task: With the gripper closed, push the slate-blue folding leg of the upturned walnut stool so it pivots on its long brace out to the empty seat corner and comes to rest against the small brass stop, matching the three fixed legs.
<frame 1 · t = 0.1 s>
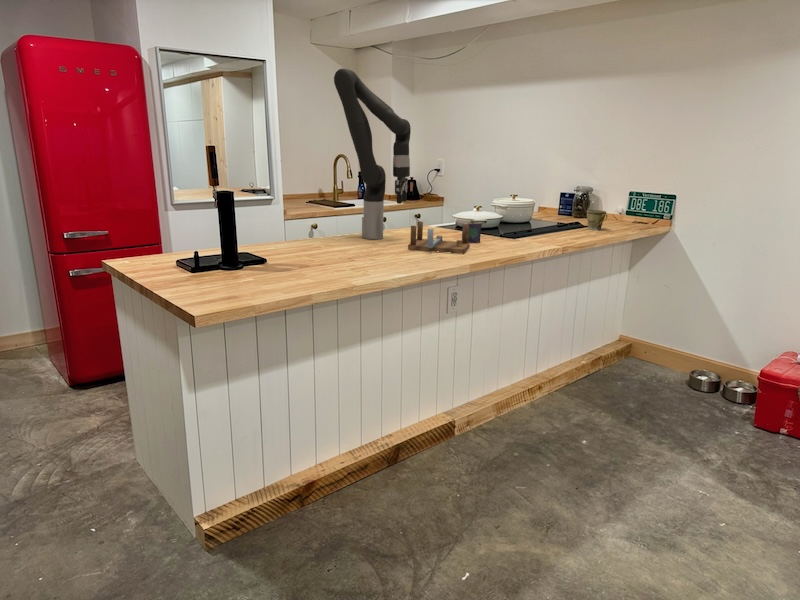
hand: (401, 202, 255), 17 cm above the table, tool pointing down, fingers open, 8 cm apart
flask: (470, 243, 258), on the table
ceramic cup: (596, 230, 301), on the table
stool: (439, 248, 243), on the table
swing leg: (435, 235, 238), point 6 cm above the table, hinge at 0.0°
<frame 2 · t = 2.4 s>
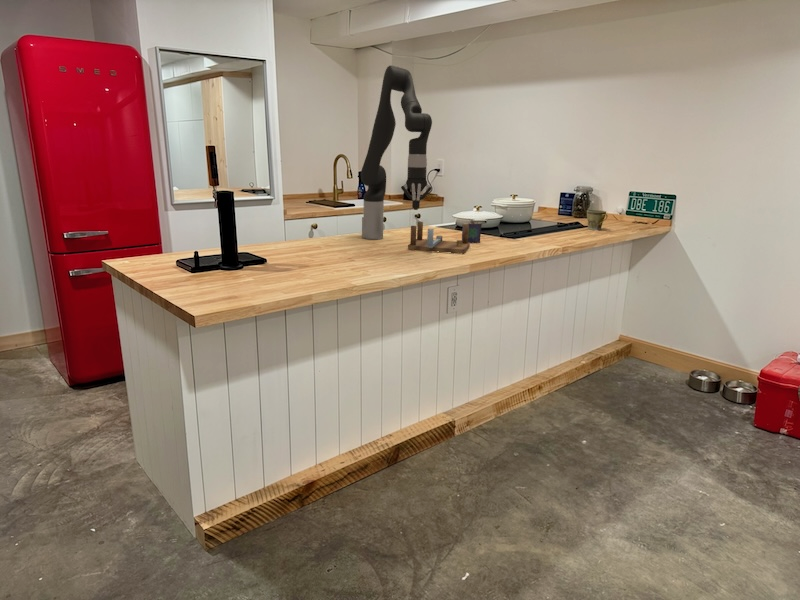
hand: (415, 209, 228), 18 cm above the table, tool pointing down, fingers closed
nothing on the table moved.
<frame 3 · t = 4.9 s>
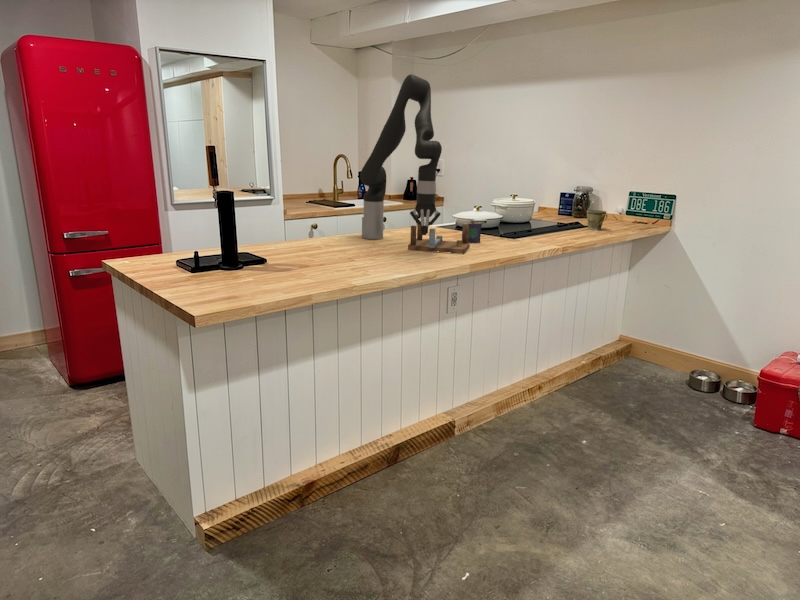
hand: (424, 234, 231), 8 cm above the table, tool pointing down, fingers closed
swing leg: (436, 235, 238), point 6 cm above the table, hinge at 2.7°, touching gripper
everything else where it was.
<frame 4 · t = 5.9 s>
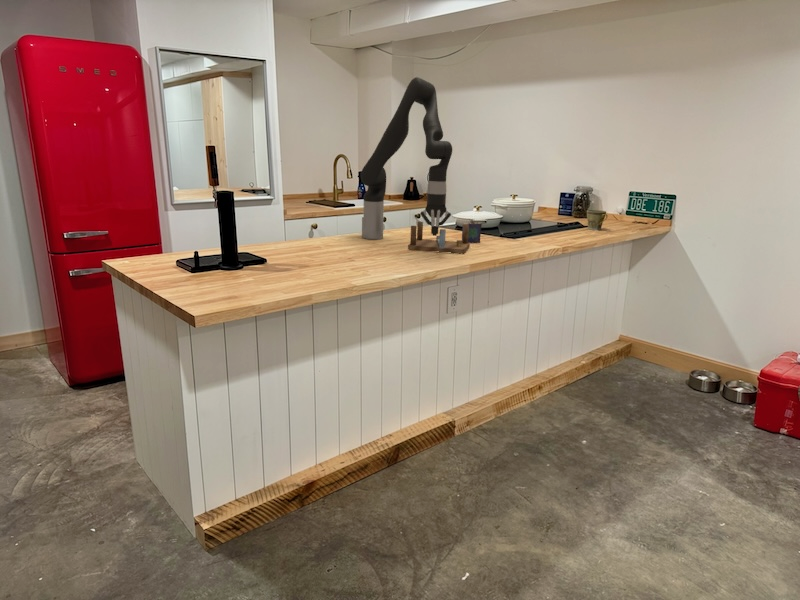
hand: (434, 235, 230), 8 cm above the table, tool pointing down, fingers closed
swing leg: (440, 235, 238), point 6 cm above the table, hinge at 17.8°, touching gripper
everything else where it was.
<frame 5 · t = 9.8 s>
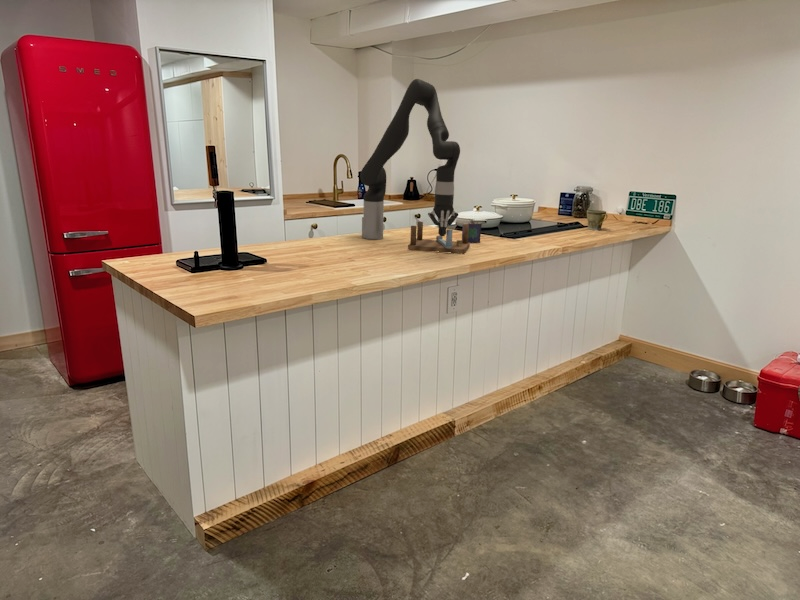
hand: (442, 235, 229), 8 cm above the table, tool pointing down, fingers closed
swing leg: (444, 235, 238), point 6 cm above the table, hinge at 28.0°, touching gripper
everything else where it was.
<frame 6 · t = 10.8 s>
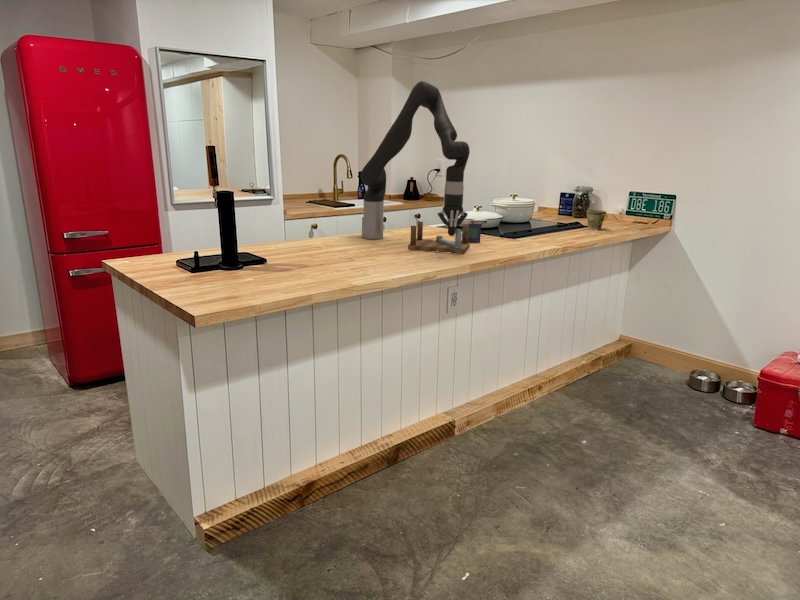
hand: (451, 235, 230), 8 cm above the table, tool pointing down, fingers closed
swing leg: (448, 235, 239), point 6 cm above the table, hinge at 42.5°, touching gripper
everything else where it was.
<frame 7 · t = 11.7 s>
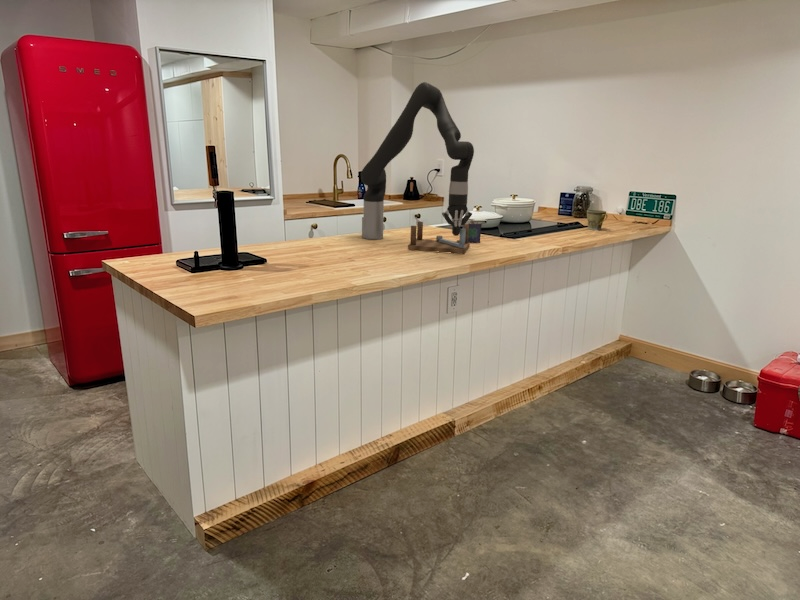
hand: (455, 235, 231), 8 cm above the table, tool pointing down, fingers closed
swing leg: (450, 235, 239), point 6 cm above the table, hinge at 50.0°, touching gripper, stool
everything else where it was.
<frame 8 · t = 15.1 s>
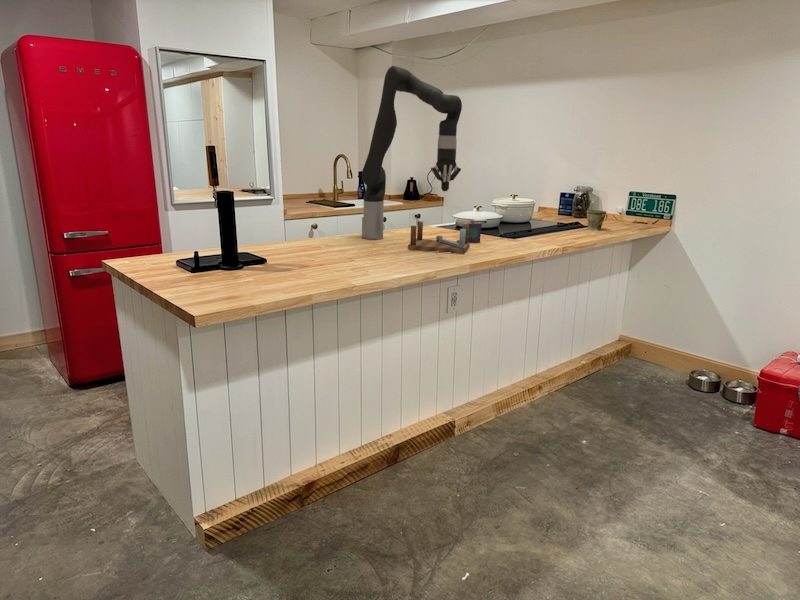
hand: (444, 191, 231), 25 cm above the table, tool pointing down, fingers closed
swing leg: (450, 235, 239), point 6 cm above the table, hinge at 50.0°, touching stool
everything else where it was.
at the end: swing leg at +50° (first picture: +0°); the gripper is holding nothing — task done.
